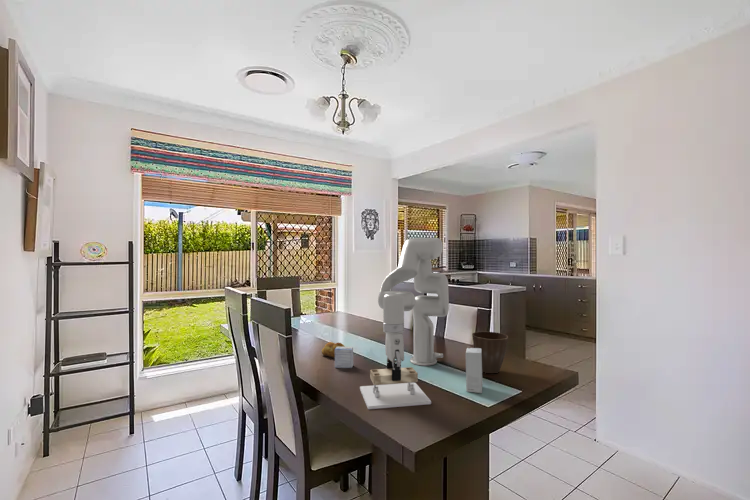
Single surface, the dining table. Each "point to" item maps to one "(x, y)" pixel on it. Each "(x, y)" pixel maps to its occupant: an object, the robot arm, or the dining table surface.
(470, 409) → the dining table surface
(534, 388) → the dining table surface
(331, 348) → the bread roll
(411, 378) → the birch board
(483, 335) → the plant pot
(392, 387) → the chassis plate
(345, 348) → the medicine box
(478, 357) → the skincare box
